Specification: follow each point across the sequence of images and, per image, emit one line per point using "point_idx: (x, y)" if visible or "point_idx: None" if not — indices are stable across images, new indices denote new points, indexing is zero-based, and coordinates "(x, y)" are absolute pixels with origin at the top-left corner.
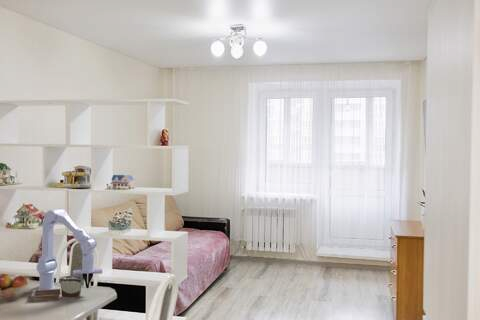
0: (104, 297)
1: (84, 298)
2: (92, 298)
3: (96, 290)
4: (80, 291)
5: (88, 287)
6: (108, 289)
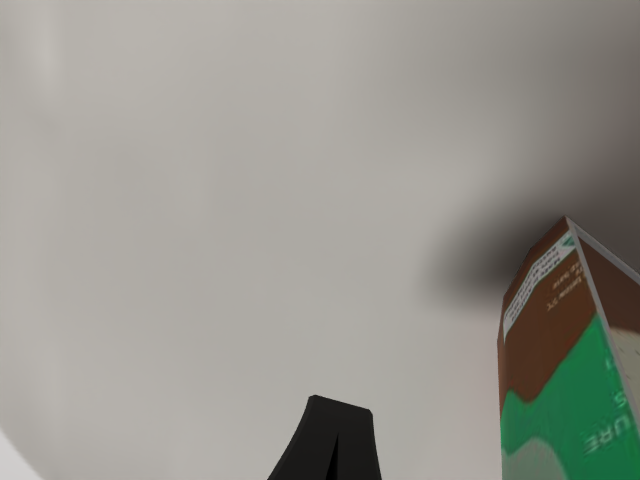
0: (52, 29)
1: (464, 157)
2: (306, 78)
3: (172, 437)
4: (552, 320)
5: (315, 405)
6: (3, 399)
